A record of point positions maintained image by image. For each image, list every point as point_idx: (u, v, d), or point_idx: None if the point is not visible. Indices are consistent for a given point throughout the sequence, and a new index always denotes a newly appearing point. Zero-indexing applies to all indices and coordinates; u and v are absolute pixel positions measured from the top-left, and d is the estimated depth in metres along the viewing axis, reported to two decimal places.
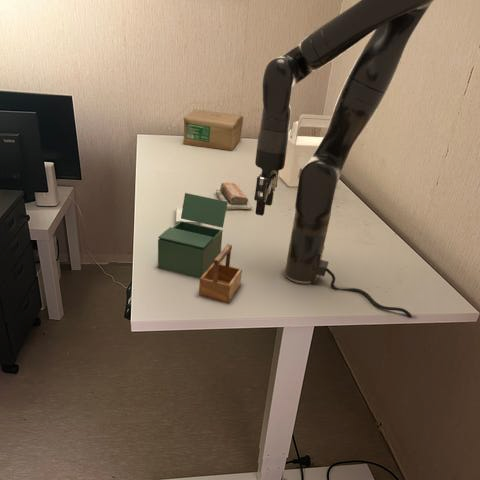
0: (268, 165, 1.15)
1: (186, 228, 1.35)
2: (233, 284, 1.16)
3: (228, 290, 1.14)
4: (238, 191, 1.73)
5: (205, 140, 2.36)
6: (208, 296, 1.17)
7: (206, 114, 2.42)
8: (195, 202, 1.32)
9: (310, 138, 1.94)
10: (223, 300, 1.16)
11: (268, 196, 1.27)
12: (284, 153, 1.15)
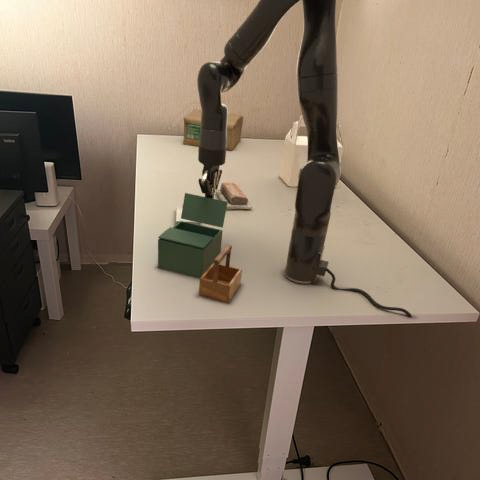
0: (208, 161, 1.25)
1: (186, 228, 1.35)
2: (233, 284, 1.16)
3: (228, 290, 1.14)
4: (238, 191, 1.73)
5: None
6: (208, 296, 1.17)
7: None
8: (195, 202, 1.32)
9: None
10: (223, 300, 1.16)
11: None
12: (223, 150, 1.25)
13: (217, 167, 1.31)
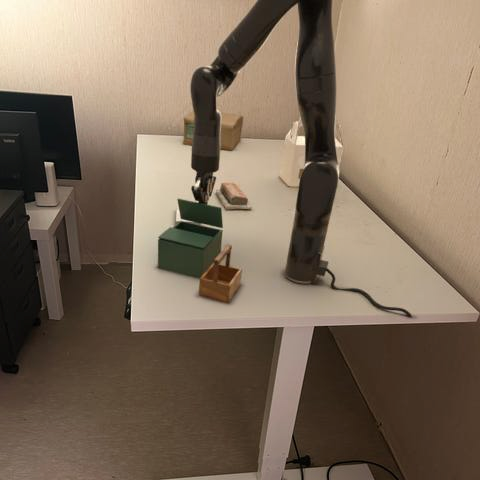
0: (201, 167, 1.21)
1: (186, 228, 1.35)
2: (233, 284, 1.16)
3: (228, 290, 1.14)
4: (238, 191, 1.73)
5: None
6: (208, 296, 1.17)
7: None
8: (190, 207, 1.29)
9: None
10: (223, 300, 1.16)
11: None
12: (217, 156, 1.21)
13: (211, 174, 1.27)
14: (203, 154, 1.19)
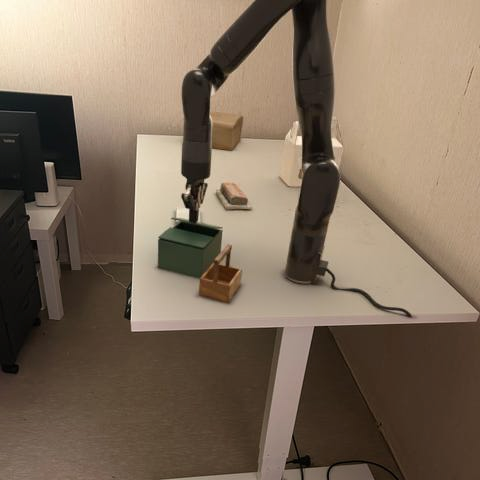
0: (191, 174, 1.16)
1: (186, 228, 1.35)
2: (233, 284, 1.16)
3: (228, 290, 1.14)
4: (238, 191, 1.73)
5: None
6: (208, 296, 1.17)
7: None
8: (185, 221, 1.29)
9: None
10: (223, 300, 1.16)
11: None
12: (208, 163, 1.16)
13: (202, 180, 1.22)
14: (193, 160, 1.14)
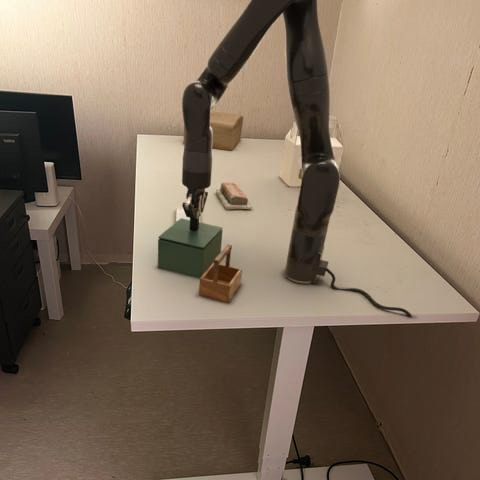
0: (192, 184, 1.18)
1: None
2: (233, 284, 1.16)
3: (228, 290, 1.14)
4: (238, 191, 1.73)
5: None
6: (208, 296, 1.17)
7: None
8: None
9: None
10: (223, 300, 1.16)
11: None
12: (208, 172, 1.18)
13: (202, 189, 1.24)
14: (194, 170, 1.16)
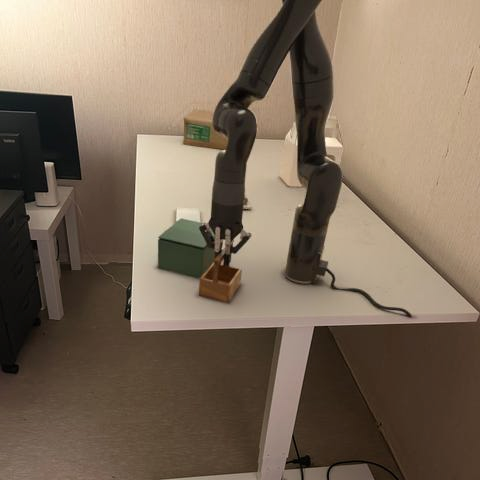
0: None
1: None
2: (233, 284, 1.16)
3: (228, 290, 1.14)
4: None
5: (205, 140, 2.36)
6: (208, 296, 1.17)
7: (206, 114, 2.42)
8: None
9: None
10: (223, 300, 1.16)
11: None
12: (218, 204, 1.05)
13: (232, 228, 1.09)
14: None
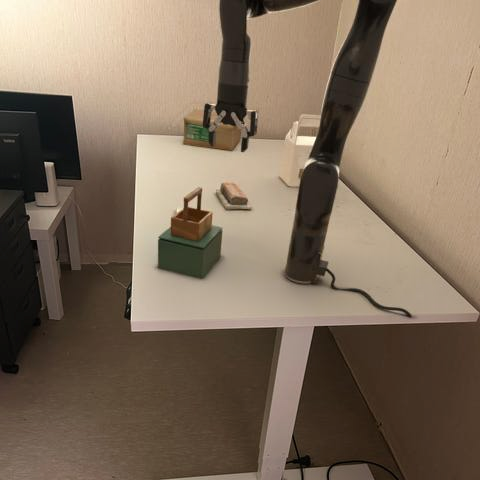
0: None
1: None
2: (203, 224, 1.23)
3: (197, 228, 1.20)
4: (238, 191, 1.73)
5: (205, 140, 2.36)
6: (179, 235, 1.23)
7: None
8: None
9: (310, 137, 1.94)
10: (193, 238, 1.22)
11: None
12: (224, 84, 1.12)
13: (237, 114, 1.17)
14: None
